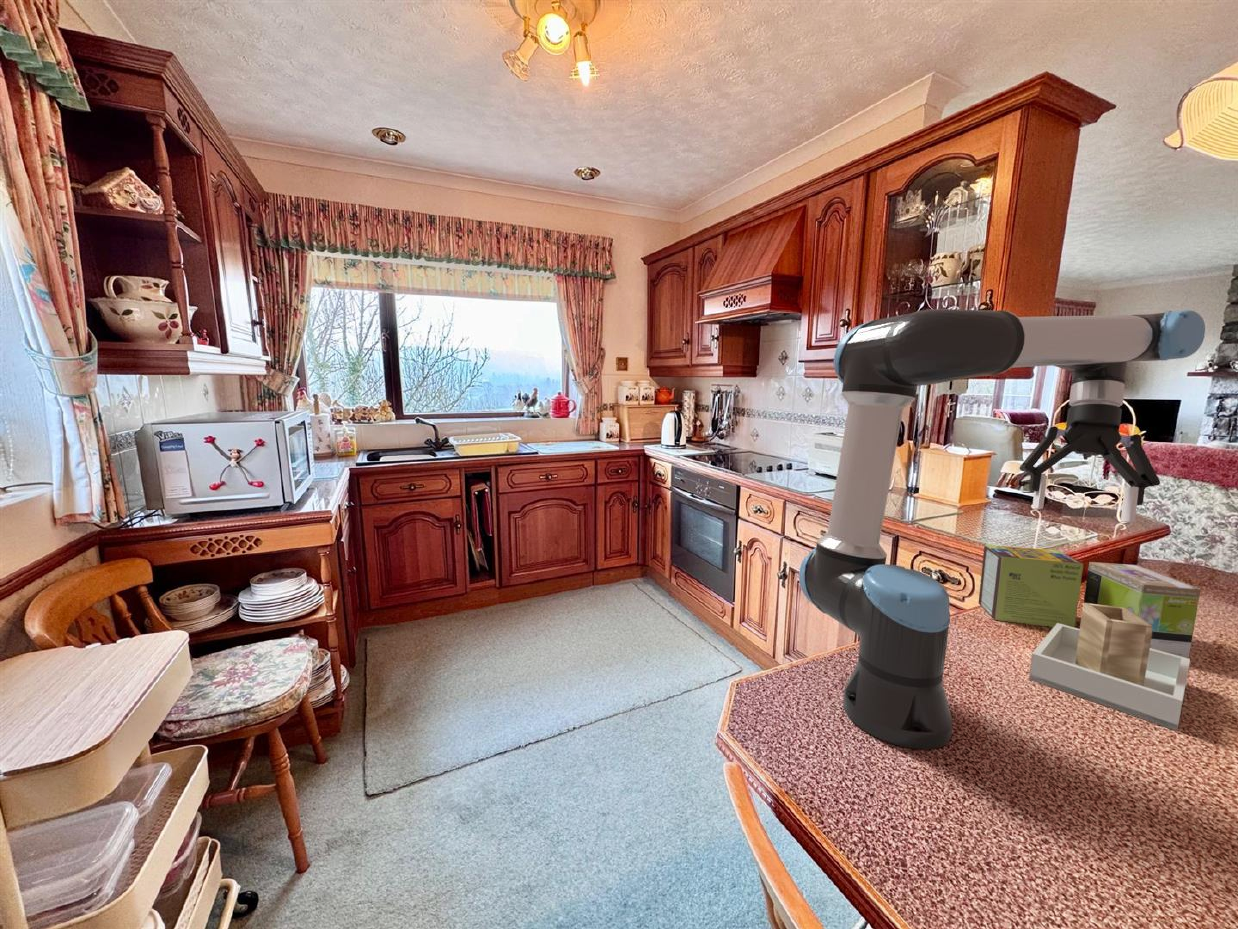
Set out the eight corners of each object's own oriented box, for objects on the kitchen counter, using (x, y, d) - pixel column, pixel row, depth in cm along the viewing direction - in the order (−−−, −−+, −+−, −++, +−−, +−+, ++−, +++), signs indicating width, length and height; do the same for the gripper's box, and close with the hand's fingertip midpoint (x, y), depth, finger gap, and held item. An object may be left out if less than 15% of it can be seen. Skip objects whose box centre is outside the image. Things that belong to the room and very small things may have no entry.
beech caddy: (1097, 685, 86) (1106, 620, 84) (1075, 662, 93) (1083, 602, 92) (1142, 692, 84) (1153, 626, 82) (1116, 669, 91) (1124, 607, 90)
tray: (1028, 679, 89) (1032, 653, 89) (1054, 645, 102) (1057, 623, 101) (1177, 731, 75) (1182, 701, 75) (1185, 685, 88) (1190, 659, 87)
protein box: (1076, 630, 109) (1085, 563, 107) (994, 620, 113) (1001, 556, 111) (1051, 611, 119) (1059, 549, 117) (976, 603, 123) (983, 543, 121)
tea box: (1191, 660, 97) (1204, 588, 95) (1131, 654, 99) (1142, 584, 97) (1129, 626, 111) (1139, 563, 109) (1078, 621, 113) (1086, 560, 111)
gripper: (1166, 418, 94) (1154, 528, 92) (1009, 405, 103) (995, 504, 101) (1195, 409, 87) (1183, 527, 85) (1024, 396, 96) (1010, 502, 94)
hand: (1081, 515), depth 93 cm, fingers open, 13 cm apart
